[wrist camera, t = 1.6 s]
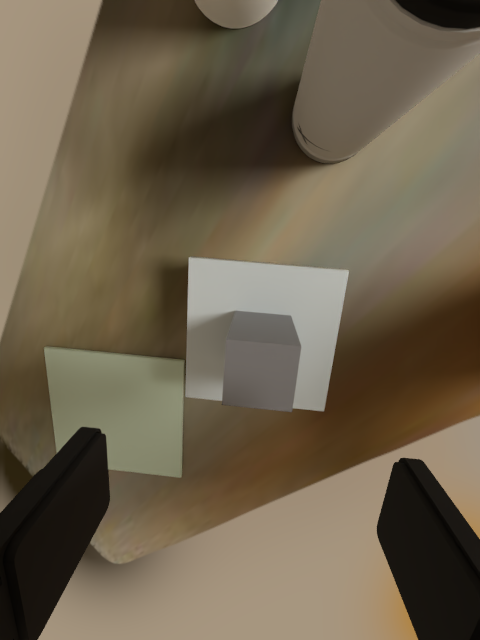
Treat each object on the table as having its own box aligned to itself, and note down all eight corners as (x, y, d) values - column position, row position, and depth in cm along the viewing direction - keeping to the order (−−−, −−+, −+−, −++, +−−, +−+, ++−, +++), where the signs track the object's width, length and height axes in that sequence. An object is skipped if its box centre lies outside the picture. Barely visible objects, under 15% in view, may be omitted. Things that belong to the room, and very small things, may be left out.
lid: (346, 269, 21) (383, 286, 15) (322, 405, 24) (343, 469, 18) (191, 256, 22) (161, 267, 15) (187, 391, 25) (161, 449, 18)
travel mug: (289, 169, 24) (394, -55, 5) (293, 71, 22) (478, -864, 3) (369, 168, 24) (810, -85, 5) (380, 67, 22) (1186, -1036, 3)
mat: (184, 359, 30) (183, 361, 29) (181, 474, 34) (181, 477, 33) (46, 346, 30) (43, 347, 30) (60, 460, 34) (58, 463, 34)
